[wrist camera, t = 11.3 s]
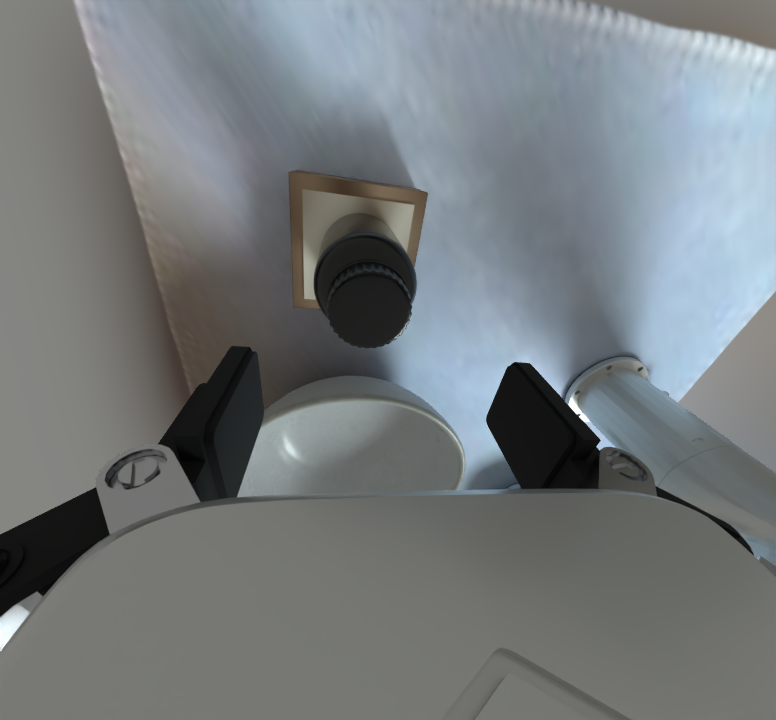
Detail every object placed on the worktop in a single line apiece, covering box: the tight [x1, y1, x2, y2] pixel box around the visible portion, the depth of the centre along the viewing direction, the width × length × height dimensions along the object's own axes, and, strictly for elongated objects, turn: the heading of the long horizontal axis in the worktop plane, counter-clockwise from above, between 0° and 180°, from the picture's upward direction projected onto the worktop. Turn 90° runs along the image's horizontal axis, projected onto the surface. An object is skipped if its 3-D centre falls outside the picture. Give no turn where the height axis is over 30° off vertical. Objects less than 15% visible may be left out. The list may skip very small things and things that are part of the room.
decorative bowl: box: [237, 376, 465, 497], centre depth 39 cm, size 27×27×12 cm
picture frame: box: [289, 170, 428, 309], centre depth 28 cm, size 11×11×5 cm
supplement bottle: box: [313, 213, 417, 348], centre depth 21 cm, size 7×7×12 cm
